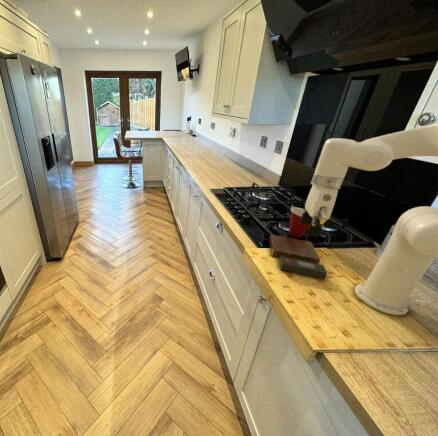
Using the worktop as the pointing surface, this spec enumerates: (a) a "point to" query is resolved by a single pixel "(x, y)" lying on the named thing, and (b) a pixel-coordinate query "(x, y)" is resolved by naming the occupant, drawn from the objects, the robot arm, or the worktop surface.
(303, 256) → the block
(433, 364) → the worktop surface
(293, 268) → the remote
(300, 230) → the plastic cup
